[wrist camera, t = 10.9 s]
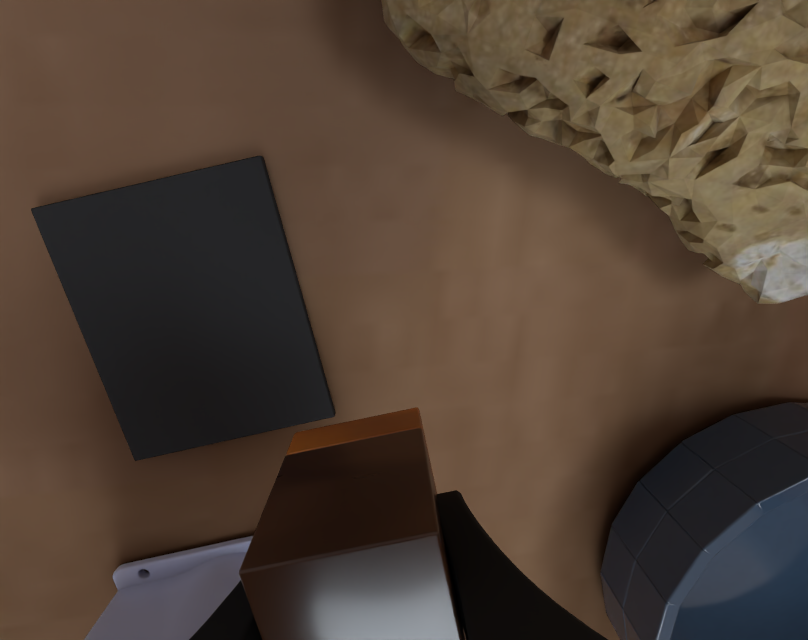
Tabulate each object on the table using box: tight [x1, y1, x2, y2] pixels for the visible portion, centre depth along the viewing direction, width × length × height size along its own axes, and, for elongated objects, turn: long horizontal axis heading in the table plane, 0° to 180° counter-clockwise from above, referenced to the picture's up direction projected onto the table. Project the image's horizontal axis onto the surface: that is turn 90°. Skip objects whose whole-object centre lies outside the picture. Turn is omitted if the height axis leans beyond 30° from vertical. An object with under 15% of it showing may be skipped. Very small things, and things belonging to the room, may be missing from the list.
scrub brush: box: [239, 408, 466, 640], centre depth 11 cm, size 4×6×5 cm, turn 12°
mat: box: [31, 156, 335, 461], centre depth 19 cm, size 9×11×1 cm
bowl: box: [601, 402, 808, 640], centre depth 20 cm, size 16×16×5 cm
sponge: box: [382, 0, 808, 304], centre depth 14 cm, size 13×8×20 cm
